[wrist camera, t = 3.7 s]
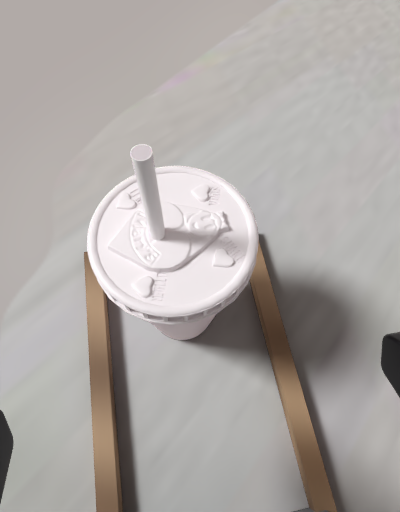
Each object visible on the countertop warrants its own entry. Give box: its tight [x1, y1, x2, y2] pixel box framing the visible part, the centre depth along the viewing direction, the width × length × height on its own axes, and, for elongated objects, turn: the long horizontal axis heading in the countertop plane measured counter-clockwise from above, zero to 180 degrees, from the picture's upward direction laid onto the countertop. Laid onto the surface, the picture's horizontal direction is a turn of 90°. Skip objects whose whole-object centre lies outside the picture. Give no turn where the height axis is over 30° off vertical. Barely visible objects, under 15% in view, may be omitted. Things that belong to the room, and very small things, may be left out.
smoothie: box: [87, 144, 259, 340], centre depth 15 cm, size 6×6×14 cm
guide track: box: [84, 240, 337, 512], centre depth 18 cm, size 18×11×2 cm, turn 11°
